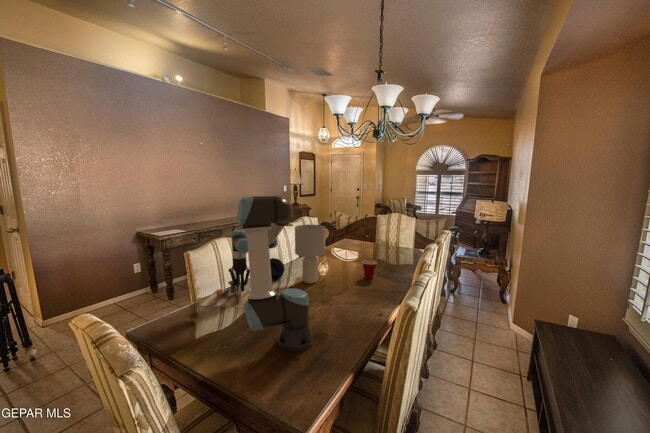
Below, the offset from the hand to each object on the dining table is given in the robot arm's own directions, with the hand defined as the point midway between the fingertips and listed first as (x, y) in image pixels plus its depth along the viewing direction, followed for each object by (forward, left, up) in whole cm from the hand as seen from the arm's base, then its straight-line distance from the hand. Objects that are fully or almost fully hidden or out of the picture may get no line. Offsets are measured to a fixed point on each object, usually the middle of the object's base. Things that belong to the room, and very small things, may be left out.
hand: (240, 296), depth 163 cm
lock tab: (+10, +5, +3) cm, 12 cm away
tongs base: (+9, -1, -2) cm, 10 cm away
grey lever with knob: (+5, -2, -1) cm, 6 cm away
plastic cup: (-76, -47, -3) cm, 90 cm away
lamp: (-35, -35, -3) cm, 50 cm away
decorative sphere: (-9, -36, -3) cm, 37 cm away
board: (+7, -1, -3) cm, 7 cm away
